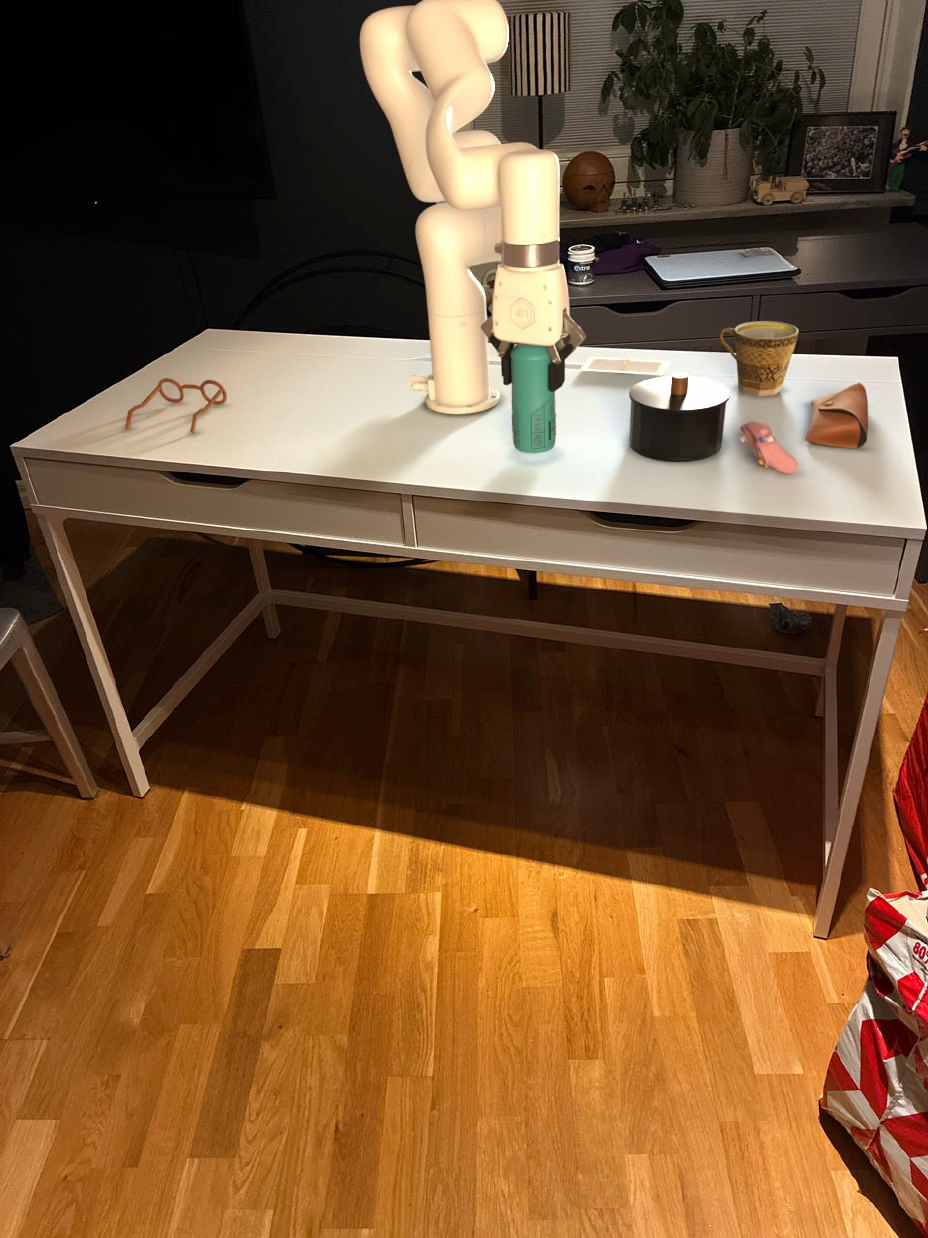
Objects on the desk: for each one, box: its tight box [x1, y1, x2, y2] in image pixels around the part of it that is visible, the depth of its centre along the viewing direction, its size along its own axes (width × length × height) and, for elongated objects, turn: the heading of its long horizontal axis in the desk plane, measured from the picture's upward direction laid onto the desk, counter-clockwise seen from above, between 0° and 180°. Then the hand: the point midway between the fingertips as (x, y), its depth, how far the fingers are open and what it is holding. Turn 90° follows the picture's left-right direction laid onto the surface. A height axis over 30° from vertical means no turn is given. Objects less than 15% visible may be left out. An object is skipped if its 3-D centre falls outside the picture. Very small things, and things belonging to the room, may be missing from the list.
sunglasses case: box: [805, 382, 869, 450], centre depth 142 cm, size 18×7×7 cm
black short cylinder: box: [629, 400, 727, 463], centre depth 138 cm, size 13×13×8 cm
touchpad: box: [579, 356, 672, 376], centre depth 168 cm, size 8×15×2 cm, turn 70°
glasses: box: [124, 377, 228, 434], centre depth 160 cm, size 13×13×5 cm
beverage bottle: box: [510, 343, 557, 454], centre depth 134 cm, size 6×7×20 cm
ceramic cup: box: [719, 320, 800, 397], centre depth 155 cm, size 13×10×10 cm
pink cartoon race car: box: [739, 418, 799, 475], centre depth 131 cm, size 10×5×7 cm, turn 5°
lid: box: [628, 372, 731, 413], centre depth 135 cm, size 14×14×4 cm
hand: (533, 384), depth 134 cm, fingers closed on beverage bottle, 6 cm apart
